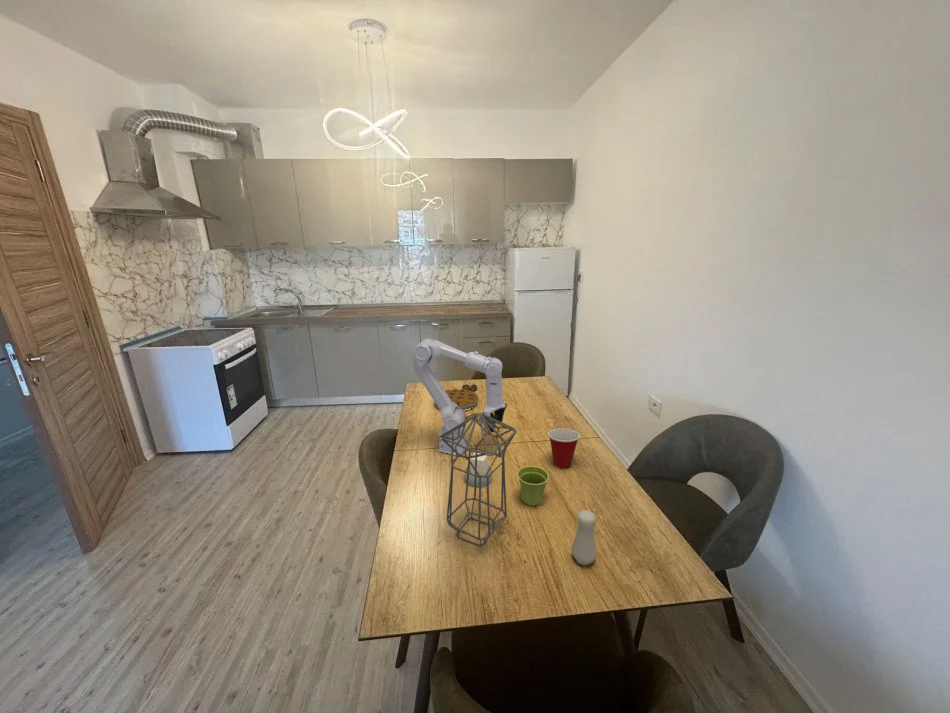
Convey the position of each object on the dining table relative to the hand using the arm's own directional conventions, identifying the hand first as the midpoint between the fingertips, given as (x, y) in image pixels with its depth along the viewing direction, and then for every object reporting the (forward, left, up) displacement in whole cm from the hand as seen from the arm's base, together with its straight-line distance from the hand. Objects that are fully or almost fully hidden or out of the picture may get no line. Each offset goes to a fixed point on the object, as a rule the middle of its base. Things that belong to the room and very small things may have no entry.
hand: (495, 427), depth 139 cm
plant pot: (+21, -21, -11) cm, 31 cm away
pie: (-34, +35, -11) cm, 50 cm away
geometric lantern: (+12, -40, -11) cm, 43 cm away
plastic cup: (+25, +2, -11) cm, 27 cm away
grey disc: (+1, -18, -11) cm, 21 cm away
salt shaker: (+39, -38, -11) cm, 55 cm away
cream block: (+2, -18, -7) cm, 20 cm away
